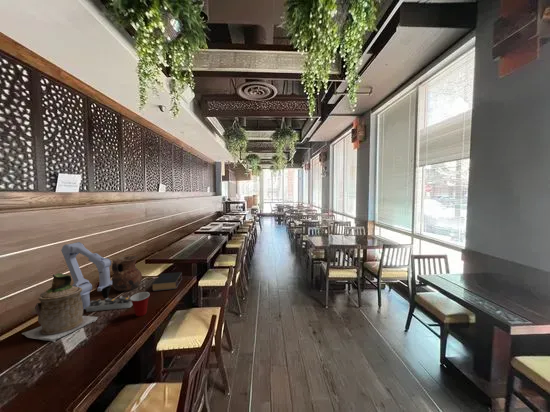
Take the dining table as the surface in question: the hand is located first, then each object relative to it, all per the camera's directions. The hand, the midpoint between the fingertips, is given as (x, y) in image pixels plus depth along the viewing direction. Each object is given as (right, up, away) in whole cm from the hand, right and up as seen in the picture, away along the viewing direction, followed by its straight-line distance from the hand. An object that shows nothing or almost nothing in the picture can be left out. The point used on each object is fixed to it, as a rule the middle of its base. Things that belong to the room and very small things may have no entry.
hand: (105, 297), depth 159 cm
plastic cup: (+29, -7, -10) cm, 31 cm away
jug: (-8, -6, +36) cm, 37 cm away
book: (+23, -6, +41) cm, 48 cm away
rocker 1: (-6, -3, -1) cm, 7 cm away
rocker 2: (+2, -3, +1) cm, 4 cm away
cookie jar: (-9, -9, -23) cm, 26 cm away
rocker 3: (+11, -2, +2) cm, 11 cm away
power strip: (+2, -7, +2) cm, 8 cm away
